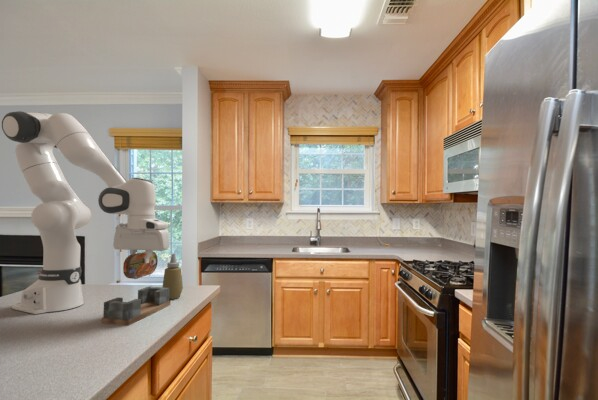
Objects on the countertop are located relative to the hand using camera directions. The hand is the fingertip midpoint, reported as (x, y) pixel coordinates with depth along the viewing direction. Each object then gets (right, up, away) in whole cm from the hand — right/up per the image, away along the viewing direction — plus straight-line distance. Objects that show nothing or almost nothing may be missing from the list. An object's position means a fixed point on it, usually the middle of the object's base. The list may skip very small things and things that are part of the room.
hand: (140, 262), depth 111 cm
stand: (0, -18, -1) cm, 18 cm away
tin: (0, -5, 0) cm, 5 cm away
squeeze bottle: (+3, -19, +19) cm, 27 cm away
